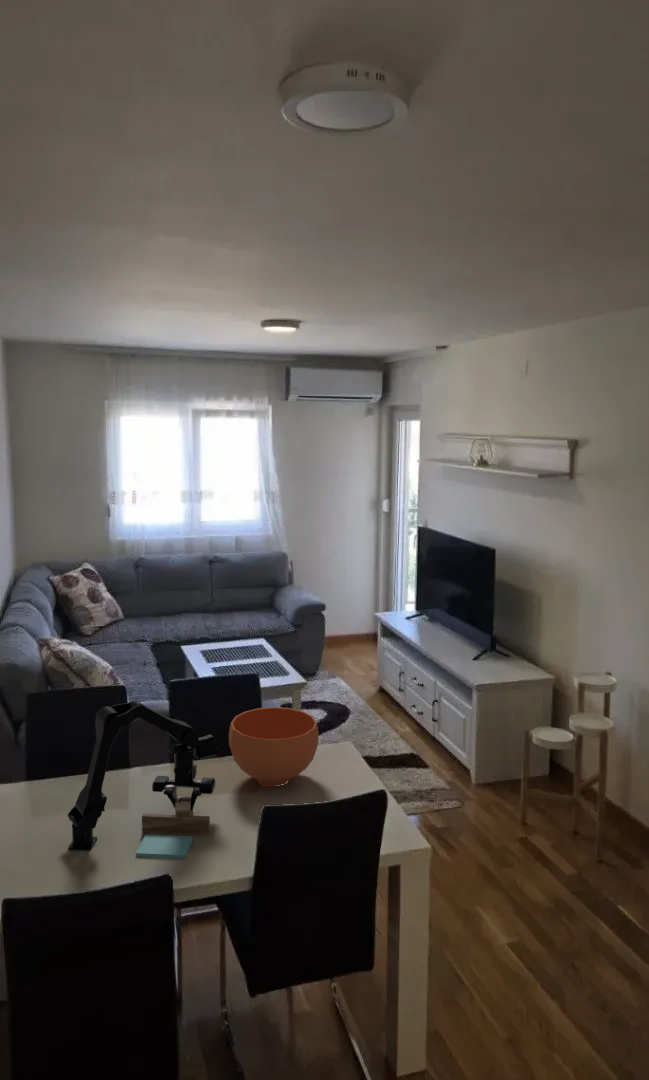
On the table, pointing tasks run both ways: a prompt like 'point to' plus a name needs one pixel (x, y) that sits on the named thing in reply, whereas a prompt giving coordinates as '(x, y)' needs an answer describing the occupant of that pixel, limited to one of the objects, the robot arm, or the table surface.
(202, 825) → the brown wooden plank
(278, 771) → the bowl
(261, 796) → the table surface
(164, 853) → the display plate
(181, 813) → the maple cube
